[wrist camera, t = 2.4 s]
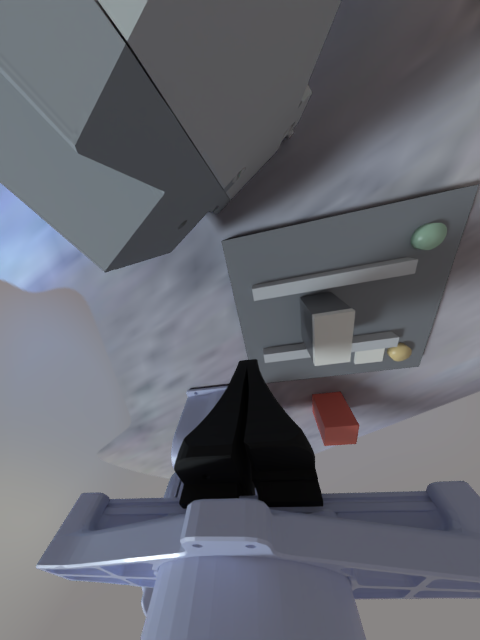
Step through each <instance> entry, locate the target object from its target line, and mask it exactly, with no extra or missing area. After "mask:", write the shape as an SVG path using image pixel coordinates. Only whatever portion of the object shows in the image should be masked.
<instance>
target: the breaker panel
mask: <svg viewBox="0 0 480 640" xmlns="http://www.w3.org/2000/svg"><path fill="white" fill-rule="evenodd" d="M478 186H479V185H473V186H468V187H463V188H458V189H453V190H449V191H444V192H440V193H435V194H431V195H426V196H422V197H417V198H413V199H408V200H404V201H399V202H395V203H390V204H386V205H381V206H377V207H372V208H368V209H363V210H358V211H354V212H349V213H345V214H340V215H336V216H331V217H327V218H322V219H318V220H313V221H309V222H304V223H300V224H295V225H291V226H286V227H282V228H277V229H273V230H268V231H264V232H259V233H255V234H250V235H246V236H241V237H237V238H232V239H228V240H223V241H221V242H222V246H223V251H224V255H225V260H226V264H227V268H228V273H229V277H230V281H231V286H232V290H233V295H234V299H235V303H236V308H237V312H238V317H239V321H240V325H241V330H242V334H243V338H244V343H245V347H246V352H247V356H248V360H251V359H257V360H258V365H259V369H260V372H261V374H262V377H263V379H264V381H265V383H272V382H281V381H290V380H300V379H309V378H318V377H327V376H336V375H346V374H355V373H364V372H373V371H382V370H392V369H401V368H410V367H419V365H420V362H421V359H422V356H423V353H424V350H425V347H426V343H427V340H428V337H429V334H430V331H431V328H432V325H433V322H434V319H435V316H436V313H437V310H438V307H439V304H440V301H441V298H442V295H443V292H444V289H445V286H446V283H447V280H448V277H449V274H450V271H451V268H452V265H453V262H454V259H455V256H456V253H457V250H458V247H459V244H460V241H461V237H462V234H463V231H464V228H465V225H466V222H467V219H468V216H469V213H470V210H471V207H472V204H473V201H474V198H475V195H476V192H477V189H478ZM327 292H332V293H333V294H334V295H336V296H337V297H338V298H339V299H341V300H342V301H343V302H345V303H346V304H347V305H348V306H350V307H351V308H352V309H354V310H355V320H354V330H353V340H352V349H351V359H350V362H346V363H337V364H328V365H320V366H315V365H314V363H313V361H312V359H311V357H310V355H309V353H308V351H307V349H306V346H305V344H304V342H303V340H302V334H301V315H300V297H304V296H310V295H316V294H321V293H327Z"/></svg>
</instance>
